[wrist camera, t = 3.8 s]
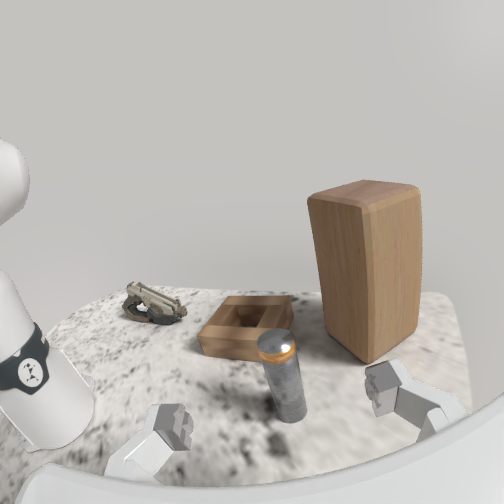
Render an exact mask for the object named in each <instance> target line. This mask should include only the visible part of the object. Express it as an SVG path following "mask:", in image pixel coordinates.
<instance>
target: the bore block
mask: <svg viewBox="0 0 504 504" xmlns="http://www.w3.org/2000/svg"><path fill="white" fill-rule="evenodd" d="M292 319H293V311H292V306H291V300H290V295H287V296H228V297H227V298H226V299H225V301H224V302H223V303H222V304H221V306H220V307H219V308H218V309H217V311H216V312H215V313H214V315H213V316H212V317H211V318H210V320H209V321H208V322H207V323H206V325H205V326H204V327H203V328H202V330H201V331H200V332H199V333H198V335H197V337H198V339H199V342H200V344H201V346H202V349H203V351H204V353H205V356H211V357H218V358H226V359H235V360H244V361H254V362H262V360H261V358H260V356H259V352H258V349H257V340H258V338H259V337H260V336H261V335H262V334H263V333H265V332H266V331H269V330H272V329H278V328H281V329H286V330H288V329H289V326H290V324H291V321H292ZM241 325H257V327H256V328H250V327H241Z"/></svg>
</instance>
